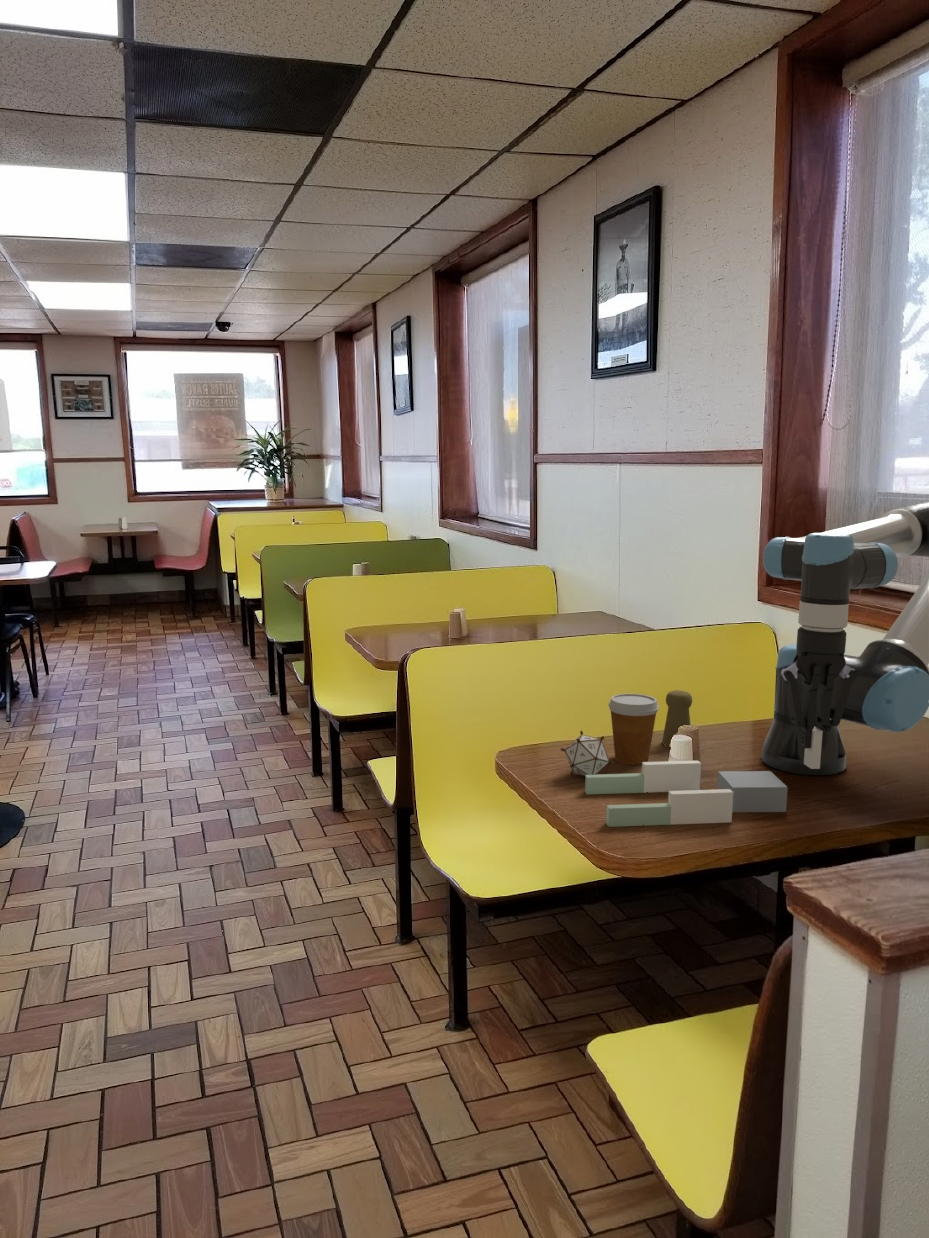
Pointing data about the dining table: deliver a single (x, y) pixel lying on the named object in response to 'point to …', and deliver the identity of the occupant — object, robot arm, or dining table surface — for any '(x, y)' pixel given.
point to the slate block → (754, 791)
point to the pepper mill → (676, 713)
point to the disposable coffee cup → (632, 726)
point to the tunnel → (663, 777)
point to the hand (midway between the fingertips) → (811, 766)
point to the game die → (586, 755)
